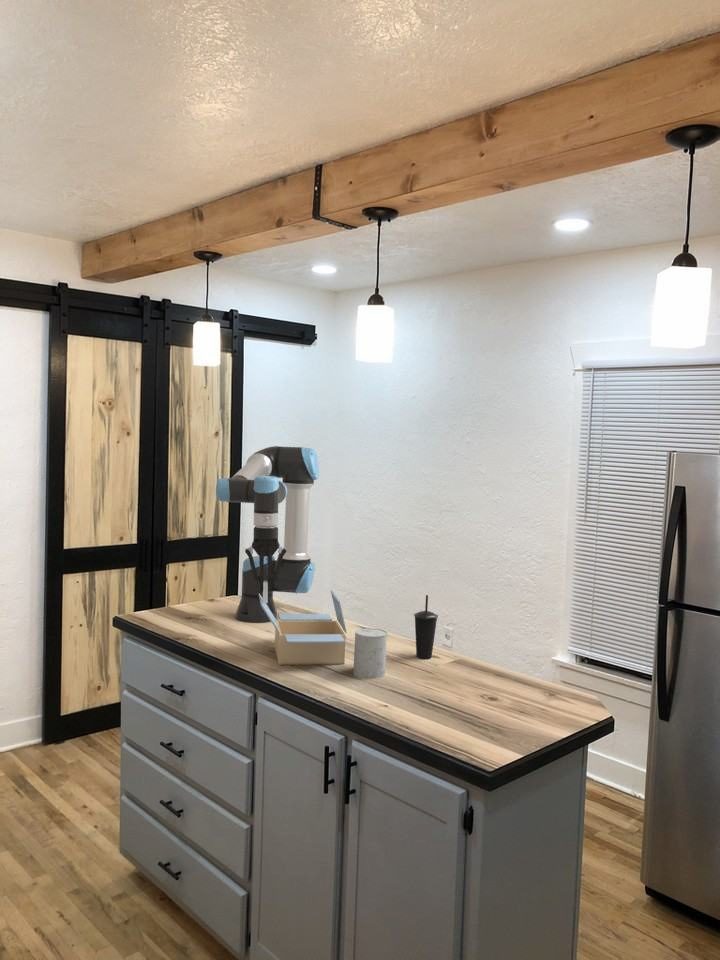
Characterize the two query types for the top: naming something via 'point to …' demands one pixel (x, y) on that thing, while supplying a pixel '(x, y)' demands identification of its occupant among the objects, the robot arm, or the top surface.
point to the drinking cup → (425, 632)
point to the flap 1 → (269, 613)
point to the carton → (309, 640)
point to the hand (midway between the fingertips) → (265, 601)
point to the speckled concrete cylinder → (370, 653)
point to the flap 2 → (338, 611)
